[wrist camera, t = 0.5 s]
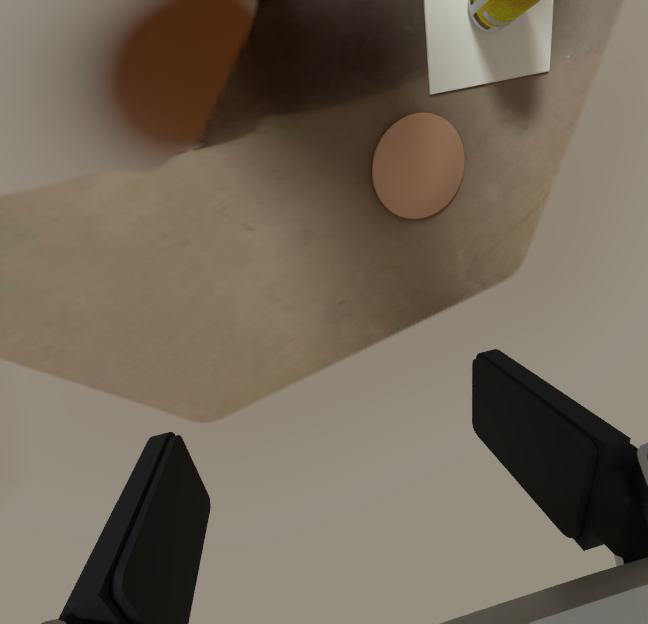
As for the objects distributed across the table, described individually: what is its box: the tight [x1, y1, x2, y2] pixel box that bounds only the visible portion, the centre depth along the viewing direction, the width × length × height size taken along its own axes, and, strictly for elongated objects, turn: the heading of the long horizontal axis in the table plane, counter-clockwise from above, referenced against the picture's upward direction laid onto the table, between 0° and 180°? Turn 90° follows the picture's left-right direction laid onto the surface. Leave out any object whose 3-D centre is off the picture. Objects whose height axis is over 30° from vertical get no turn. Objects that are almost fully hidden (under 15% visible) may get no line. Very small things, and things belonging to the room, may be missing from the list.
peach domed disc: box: [372, 112, 465, 219], centre depth 35 cm, size 11×11×1 cm
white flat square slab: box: [424, 0, 554, 95], centre depth 31 cm, size 14×14×1 cm
